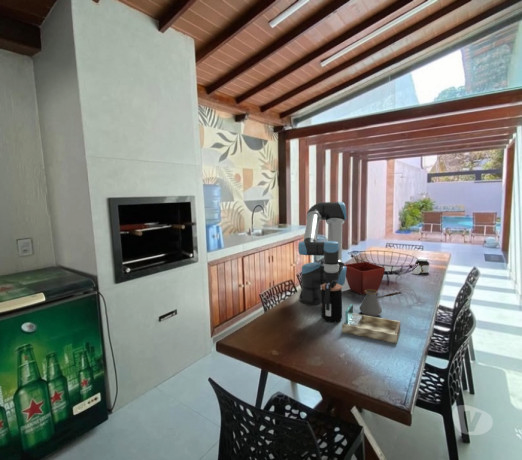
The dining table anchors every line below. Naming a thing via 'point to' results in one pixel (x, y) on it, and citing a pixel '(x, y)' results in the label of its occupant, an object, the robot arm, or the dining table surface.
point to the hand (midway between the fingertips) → (331, 311)
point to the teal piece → (352, 317)
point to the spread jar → (421, 266)
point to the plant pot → (364, 276)
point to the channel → (375, 328)
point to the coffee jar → (332, 304)
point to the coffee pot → (372, 303)
